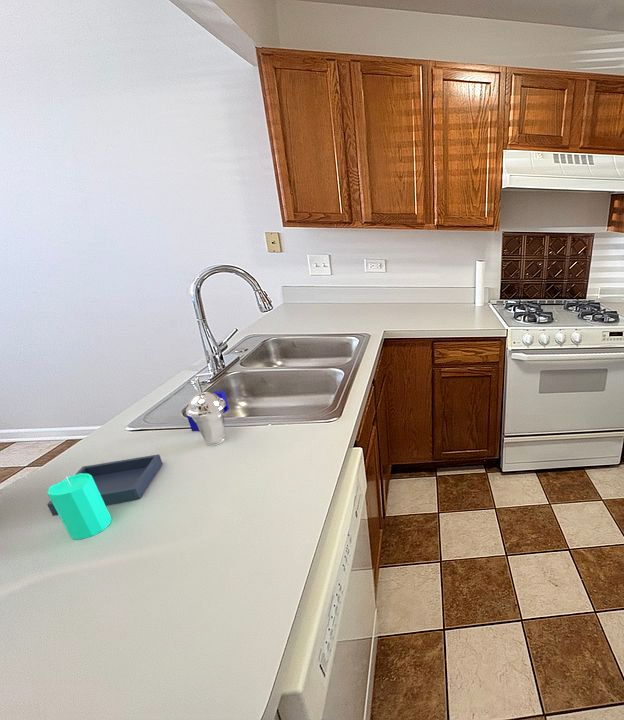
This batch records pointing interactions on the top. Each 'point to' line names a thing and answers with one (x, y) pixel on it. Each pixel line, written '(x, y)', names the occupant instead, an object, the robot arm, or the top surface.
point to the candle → (80, 506)
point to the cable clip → (222, 395)
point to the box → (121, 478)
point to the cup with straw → (208, 414)
